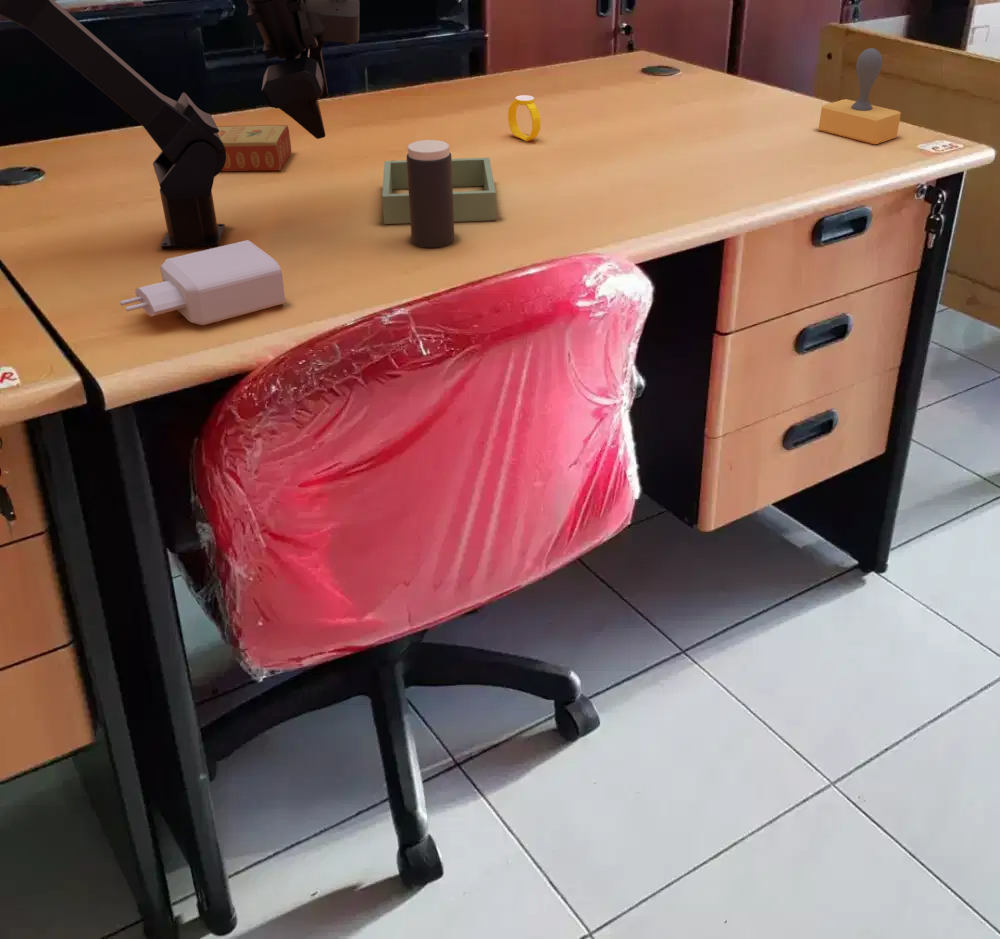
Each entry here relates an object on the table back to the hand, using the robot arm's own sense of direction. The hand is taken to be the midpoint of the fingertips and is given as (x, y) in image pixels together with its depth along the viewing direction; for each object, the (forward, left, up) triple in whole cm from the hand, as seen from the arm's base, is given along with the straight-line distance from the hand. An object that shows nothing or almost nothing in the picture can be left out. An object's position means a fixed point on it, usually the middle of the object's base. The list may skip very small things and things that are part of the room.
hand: (322, 116), depth 127 cm
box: (+2, -13, -12) cm, 18 cm away
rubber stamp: (+25, -75, -12) cm, 80 cm away
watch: (+28, -26, -12) cm, 40 cm away
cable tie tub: (-11, -12, -12) cm, 20 cm away
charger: (-28, +12, -12) cm, 32 cm away
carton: (+21, +16, -12) cm, 29 cm away
